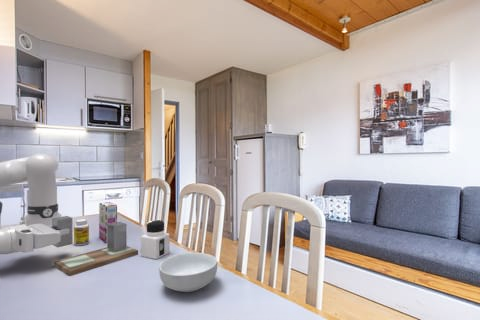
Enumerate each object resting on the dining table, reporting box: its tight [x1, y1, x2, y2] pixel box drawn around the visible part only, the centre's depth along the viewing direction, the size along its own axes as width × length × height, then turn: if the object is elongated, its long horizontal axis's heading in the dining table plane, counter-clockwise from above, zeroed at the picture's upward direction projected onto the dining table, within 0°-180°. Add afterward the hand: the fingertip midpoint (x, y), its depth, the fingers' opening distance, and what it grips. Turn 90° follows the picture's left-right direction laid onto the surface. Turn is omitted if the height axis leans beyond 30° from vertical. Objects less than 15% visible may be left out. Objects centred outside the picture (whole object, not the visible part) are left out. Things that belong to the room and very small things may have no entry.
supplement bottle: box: [73, 218, 90, 246], centre depth 116 cm, size 6×6×10 cm
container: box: [140, 219, 171, 260], centre depth 104 cm, size 8×8×13 cm
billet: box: [106, 221, 128, 253], centre depth 104 cm, size 5×5×10 cm
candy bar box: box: [98, 201, 118, 244], centre depth 122 cm, size 11×5×16 cm, turn 42°
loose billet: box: [52, 215, 74, 248], centre depth 101 cm, size 5×5×10 cm
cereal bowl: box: [158, 252, 218, 293], centre depth 79 cm, size 17×17×7 cm
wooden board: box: [53, 245, 139, 277], centre depth 99 cm, size 13×24×2 cm, turn 143°
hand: (65, 229), depth 102 cm, fingers closed on loose billet, 5 cm apart
